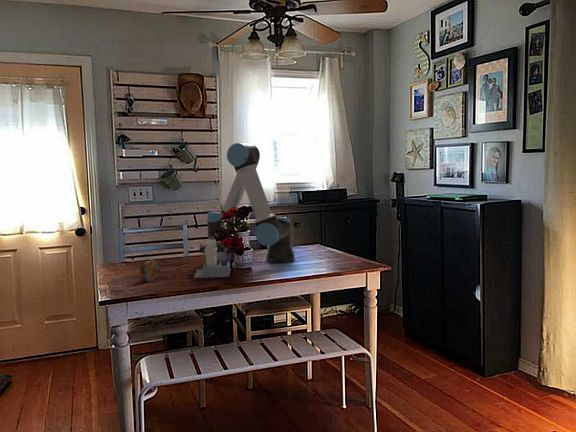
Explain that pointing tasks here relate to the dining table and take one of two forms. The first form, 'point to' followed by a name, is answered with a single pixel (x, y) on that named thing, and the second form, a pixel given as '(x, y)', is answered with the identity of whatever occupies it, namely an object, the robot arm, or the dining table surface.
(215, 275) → the rack
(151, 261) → the mottled brown flat piece
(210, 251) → the cream upright slab
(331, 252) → the dining table surface
